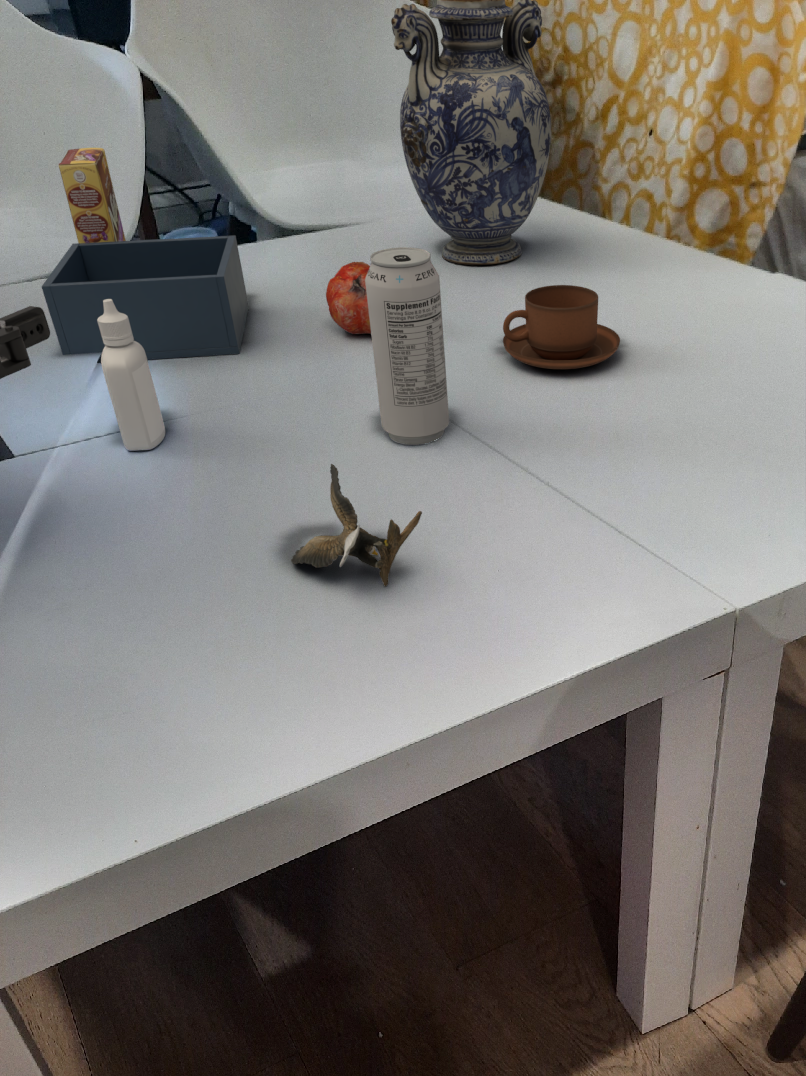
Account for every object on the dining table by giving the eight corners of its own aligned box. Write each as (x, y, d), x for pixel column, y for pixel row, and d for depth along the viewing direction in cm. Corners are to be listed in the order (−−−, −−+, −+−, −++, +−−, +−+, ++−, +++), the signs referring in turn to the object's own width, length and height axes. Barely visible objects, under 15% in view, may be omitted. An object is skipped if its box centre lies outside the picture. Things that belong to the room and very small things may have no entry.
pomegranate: (335, 343, 115) (307, 311, 105) (346, 278, 114) (320, 240, 104) (398, 354, 114) (376, 323, 104) (410, 289, 114) (389, 252, 104)
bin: (65, 365, 104) (41, 286, 99) (93, 316, 116) (72, 243, 111) (239, 354, 106) (223, 276, 101) (249, 306, 118) (235, 235, 113)
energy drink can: (439, 415, 93) (425, 242, 84) (458, 441, 89) (447, 261, 79) (375, 425, 92) (354, 250, 82) (392, 452, 87) (372, 270, 78)
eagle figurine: (440, 538, 73) (348, 486, 76) (409, 490, 67) (309, 434, 70) (379, 623, 72) (288, 566, 75) (342, 582, 66) (243, 522, 69)
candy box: (134, 308, 118) (95, 162, 108) (95, 311, 117) (53, 164, 107) (139, 285, 124) (104, 145, 115) (103, 288, 124) (64, 148, 114)
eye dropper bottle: (185, 430, 91) (151, 293, 84) (144, 456, 87) (104, 314, 80) (147, 423, 93) (110, 287, 85) (104, 447, 89) (61, 307, 81)
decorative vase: (501, 226, 144) (494, -15, 126) (587, 254, 133) (592, -6, 115) (375, 255, 134) (347, -4, 116) (457, 287, 123) (440, 7, 105)
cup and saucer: (554, 389, 98) (554, 325, 94) (480, 355, 105) (477, 294, 101) (643, 360, 104) (646, 298, 100) (567, 329, 111) (568, 270, 107)
